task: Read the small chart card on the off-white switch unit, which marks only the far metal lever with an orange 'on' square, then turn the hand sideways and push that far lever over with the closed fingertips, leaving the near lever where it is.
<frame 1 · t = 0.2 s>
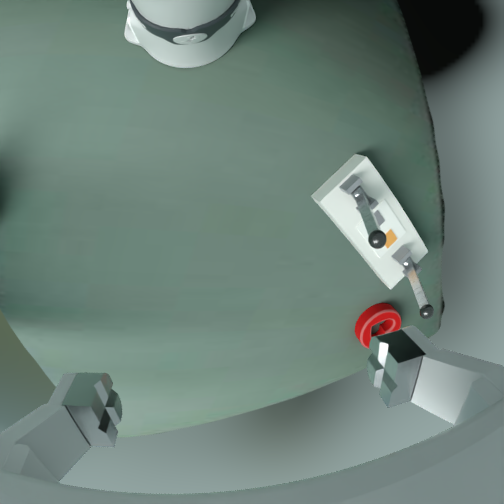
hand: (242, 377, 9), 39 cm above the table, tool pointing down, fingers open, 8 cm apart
decorative ornament: (374, 321, 61), on the table
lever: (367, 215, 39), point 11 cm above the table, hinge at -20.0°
switch unit: (370, 221, 51), on the table
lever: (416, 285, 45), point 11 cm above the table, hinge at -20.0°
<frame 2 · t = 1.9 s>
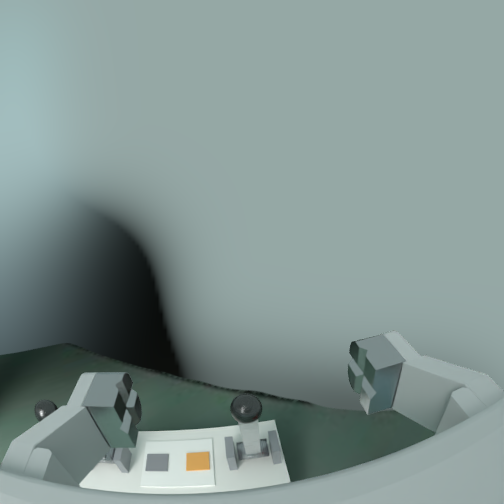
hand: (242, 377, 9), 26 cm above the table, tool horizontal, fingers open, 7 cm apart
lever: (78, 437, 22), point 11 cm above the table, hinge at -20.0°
switch unit: (186, 480, 28), on the table
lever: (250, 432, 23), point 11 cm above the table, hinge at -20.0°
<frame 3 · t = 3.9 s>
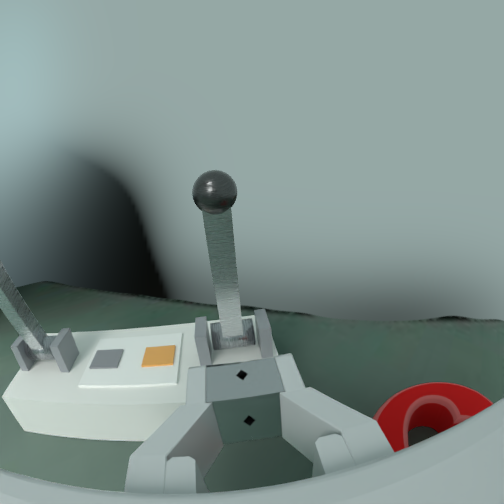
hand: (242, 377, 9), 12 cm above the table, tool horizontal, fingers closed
decorative ornament: (428, 459, 15), on the table
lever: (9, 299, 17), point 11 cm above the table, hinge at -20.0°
switch unit: (146, 397, 23), on the table
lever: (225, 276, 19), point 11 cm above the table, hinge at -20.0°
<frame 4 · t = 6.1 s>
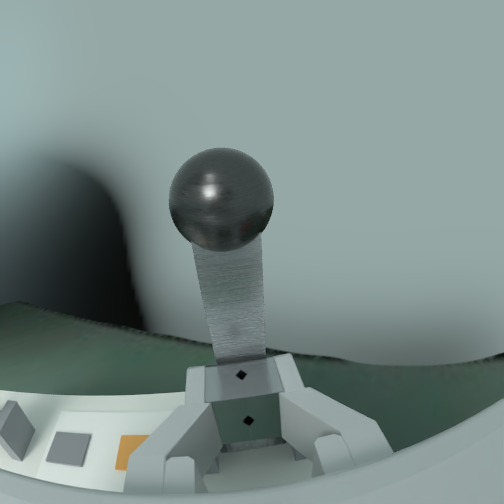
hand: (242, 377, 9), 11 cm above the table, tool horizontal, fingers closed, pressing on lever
switch unit: (129, 489, 14), on the table
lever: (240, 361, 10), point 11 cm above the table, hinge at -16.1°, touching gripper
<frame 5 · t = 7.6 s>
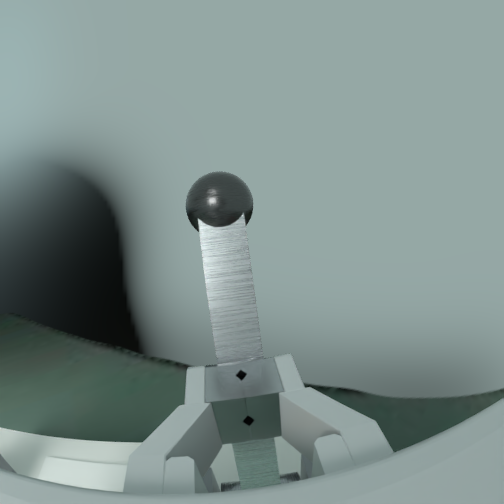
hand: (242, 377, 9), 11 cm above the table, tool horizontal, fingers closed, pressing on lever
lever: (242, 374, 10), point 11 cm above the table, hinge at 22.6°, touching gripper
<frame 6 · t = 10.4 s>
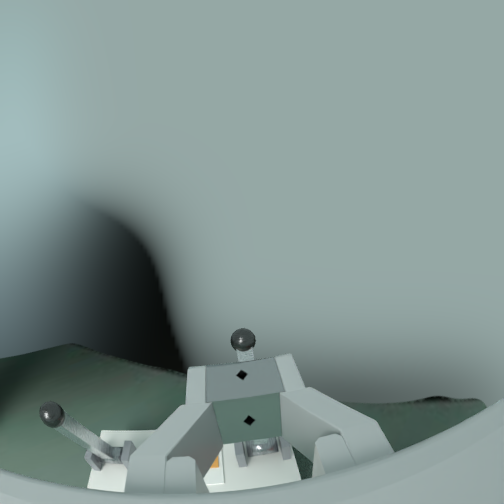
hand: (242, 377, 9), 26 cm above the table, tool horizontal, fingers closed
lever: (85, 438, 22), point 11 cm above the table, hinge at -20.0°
switch unit: (195, 479, 28), on the table
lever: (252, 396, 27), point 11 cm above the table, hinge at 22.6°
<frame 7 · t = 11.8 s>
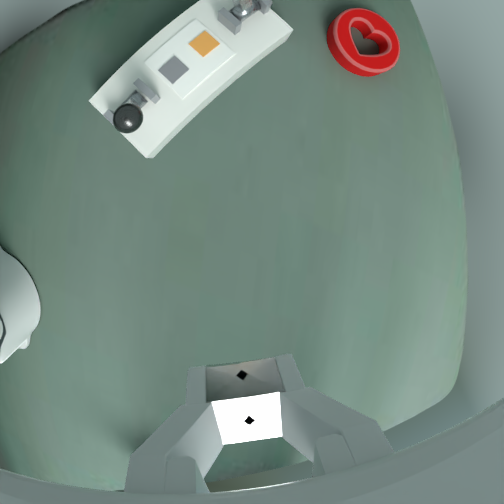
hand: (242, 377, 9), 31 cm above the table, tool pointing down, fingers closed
decorative ornament: (358, 45, 34), on the table
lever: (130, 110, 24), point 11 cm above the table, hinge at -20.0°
switch unit: (191, 66, 32), on the table
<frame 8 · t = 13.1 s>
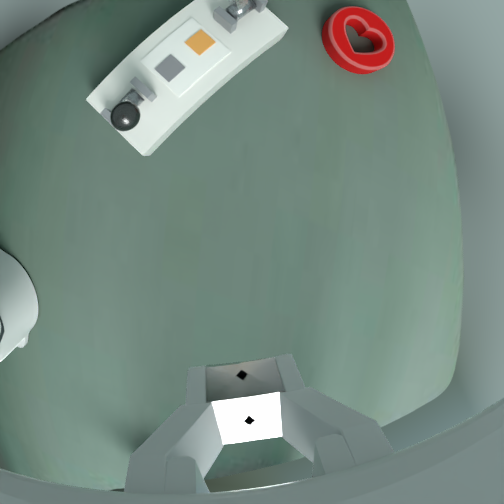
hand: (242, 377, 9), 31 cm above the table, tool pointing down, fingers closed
decorative ornament: (353, 43, 34), on the table
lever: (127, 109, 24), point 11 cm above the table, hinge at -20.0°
switch unit: (187, 65, 32), on the table
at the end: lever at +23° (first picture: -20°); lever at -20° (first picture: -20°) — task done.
